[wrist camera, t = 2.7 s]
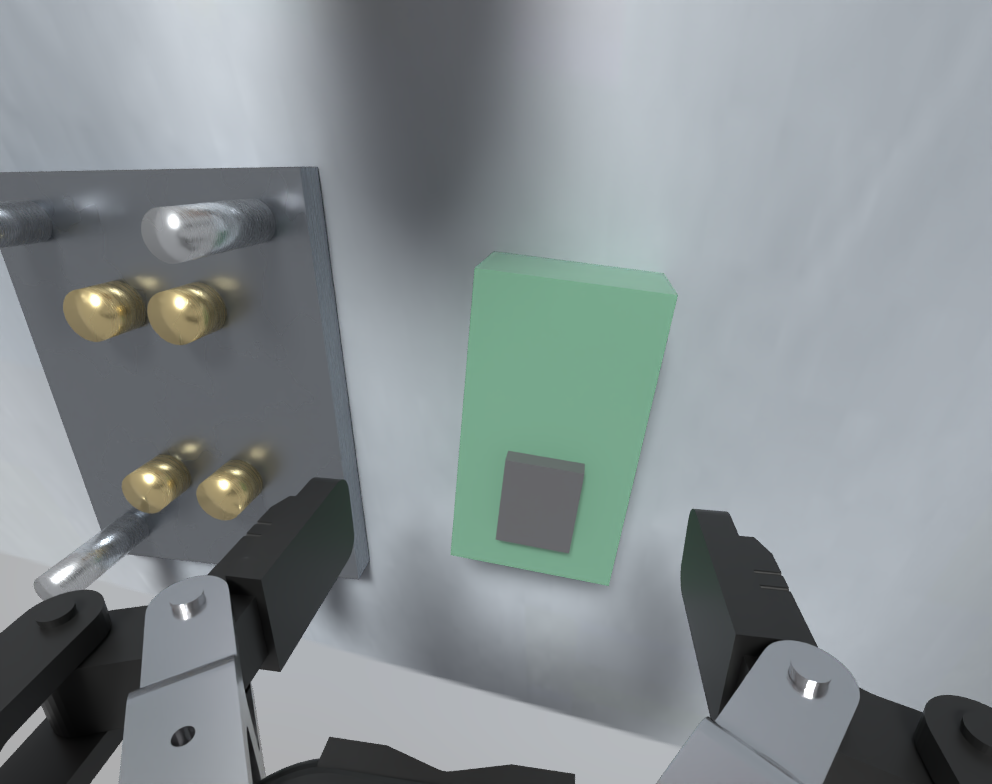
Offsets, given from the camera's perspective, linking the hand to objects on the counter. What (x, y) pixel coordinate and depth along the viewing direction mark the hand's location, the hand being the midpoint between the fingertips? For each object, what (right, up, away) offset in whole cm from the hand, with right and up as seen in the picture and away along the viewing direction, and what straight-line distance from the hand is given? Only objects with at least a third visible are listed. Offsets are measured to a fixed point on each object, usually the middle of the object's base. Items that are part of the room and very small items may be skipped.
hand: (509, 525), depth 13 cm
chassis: (-12, +3, +9) cm, 15 cm away
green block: (+2, +3, +7) cm, 8 cm away
